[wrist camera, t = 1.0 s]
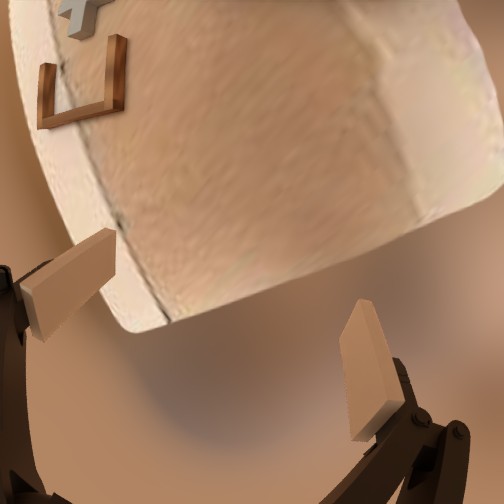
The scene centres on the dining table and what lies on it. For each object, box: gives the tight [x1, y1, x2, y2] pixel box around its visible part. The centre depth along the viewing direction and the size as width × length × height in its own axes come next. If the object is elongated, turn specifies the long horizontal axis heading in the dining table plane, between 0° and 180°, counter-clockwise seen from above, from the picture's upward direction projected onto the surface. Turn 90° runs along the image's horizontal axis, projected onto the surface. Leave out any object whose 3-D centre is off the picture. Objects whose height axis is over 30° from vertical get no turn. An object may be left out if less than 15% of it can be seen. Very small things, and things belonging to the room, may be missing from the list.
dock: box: [37, 34, 127, 130], centre depth 33 cm, size 12×17×3 cm
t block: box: [58, 0, 114, 40], centre depth 28 cm, size 9×10×4 cm
